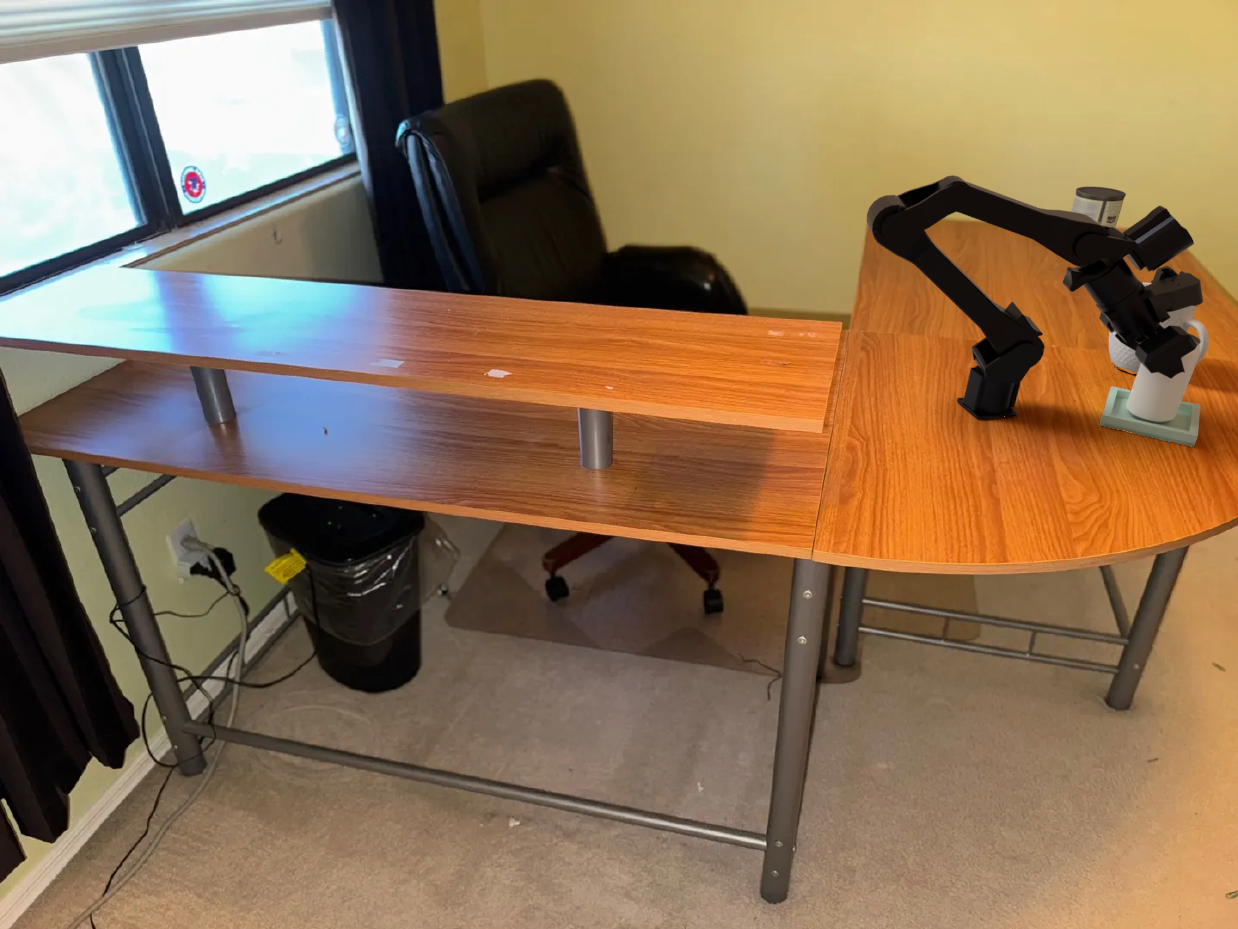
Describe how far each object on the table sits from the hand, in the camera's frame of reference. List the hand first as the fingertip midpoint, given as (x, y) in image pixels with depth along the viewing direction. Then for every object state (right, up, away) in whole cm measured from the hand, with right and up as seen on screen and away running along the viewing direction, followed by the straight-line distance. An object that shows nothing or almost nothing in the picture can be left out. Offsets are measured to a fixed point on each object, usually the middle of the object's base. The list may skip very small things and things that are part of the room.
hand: (1174, 372), depth 126 cm
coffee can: (+31, +37, +83) cm, 96 cm away
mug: (+7, +2, +21) cm, 22 cm away
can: (-2, -6, +3) cm, 7 cm away
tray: (-1, -7, +4) cm, 8 cm away
